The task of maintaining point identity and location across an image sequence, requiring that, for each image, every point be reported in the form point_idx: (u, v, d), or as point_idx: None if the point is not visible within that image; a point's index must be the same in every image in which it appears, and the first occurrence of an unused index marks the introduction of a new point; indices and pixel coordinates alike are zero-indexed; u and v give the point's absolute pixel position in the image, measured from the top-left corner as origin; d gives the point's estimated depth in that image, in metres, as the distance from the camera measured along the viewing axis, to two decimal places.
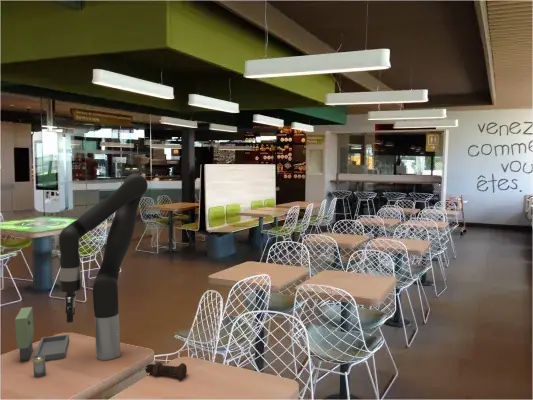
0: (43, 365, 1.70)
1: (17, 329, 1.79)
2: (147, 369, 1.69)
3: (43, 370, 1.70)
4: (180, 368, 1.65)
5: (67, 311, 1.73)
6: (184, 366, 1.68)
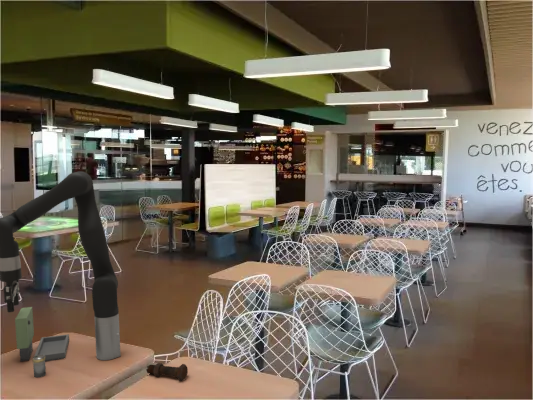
0: (43, 365, 1.70)
1: (17, 329, 1.79)
2: (148, 369, 1.69)
3: (43, 370, 1.70)
4: (181, 369, 1.65)
5: (6, 301, 1.73)
6: (185, 367, 1.67)
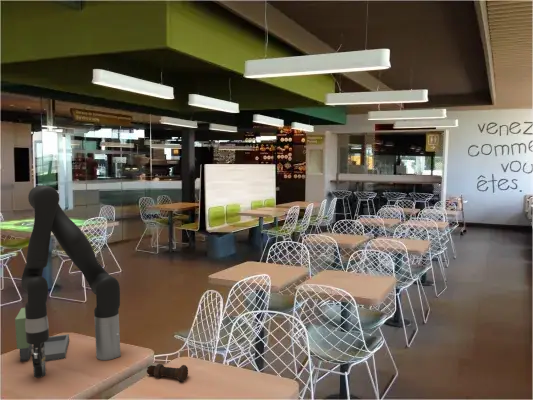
0: (43, 365, 1.70)
1: (17, 329, 1.79)
2: (148, 370, 1.68)
3: (43, 370, 1.70)
4: (181, 370, 1.64)
5: (35, 365, 1.65)
6: (185, 368, 1.66)
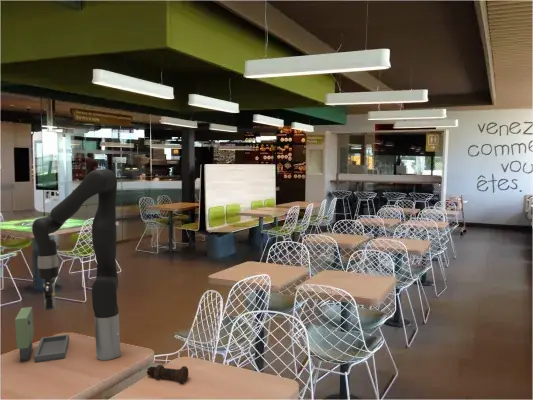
0: (53, 299, 1.89)
1: (17, 329, 1.79)
2: (148, 372, 1.68)
3: (53, 303, 1.89)
4: (182, 371, 1.63)
5: (46, 297, 1.85)
6: (186, 369, 1.65)
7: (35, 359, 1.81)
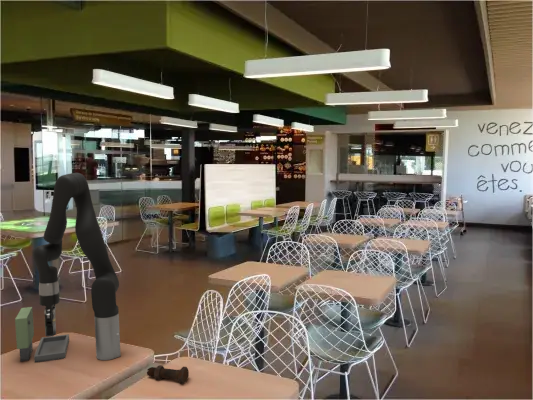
0: (54, 325, 1.90)
1: (17, 329, 1.79)
2: (148, 372, 1.67)
3: (54, 330, 1.90)
4: (182, 372, 1.62)
5: (47, 324, 1.85)
6: (186, 369, 1.65)
7: (35, 359, 1.81)
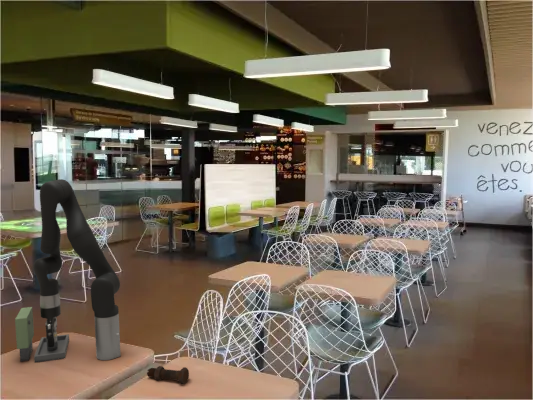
0: (55, 340, 1.91)
1: (17, 329, 1.79)
2: (149, 373, 1.67)
3: (55, 344, 1.91)
4: (182, 372, 1.62)
5: (48, 337, 1.85)
6: (186, 370, 1.64)
7: (35, 359, 1.81)
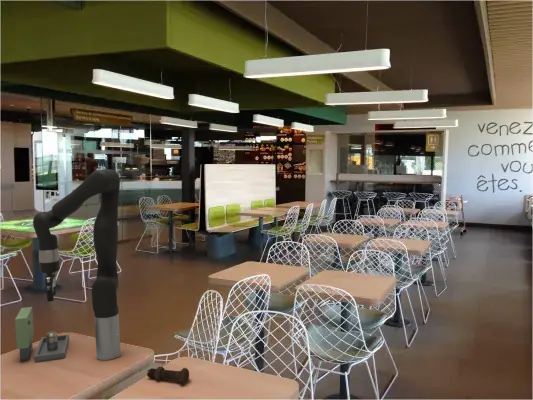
0: (55, 340, 1.91)
1: (17, 329, 1.79)
2: (149, 373, 1.66)
3: (55, 344, 1.91)
4: (182, 373, 1.62)
5: (47, 290, 1.84)
6: (186, 371, 1.64)
7: (35, 359, 1.81)
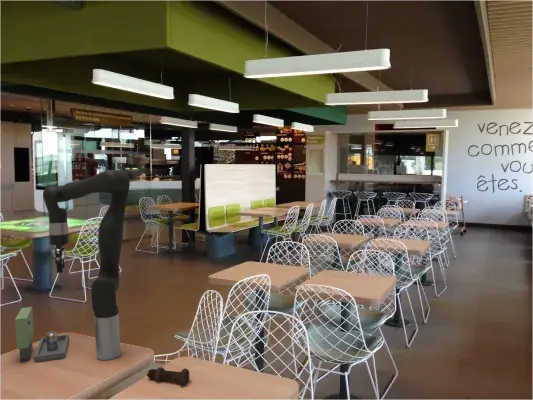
0: (55, 340, 1.91)
1: (17, 329, 1.79)
2: (149, 374, 1.66)
3: (55, 344, 1.91)
4: (183, 374, 1.61)
5: (56, 262, 1.89)
6: (187, 371, 1.64)
7: (35, 359, 1.81)
